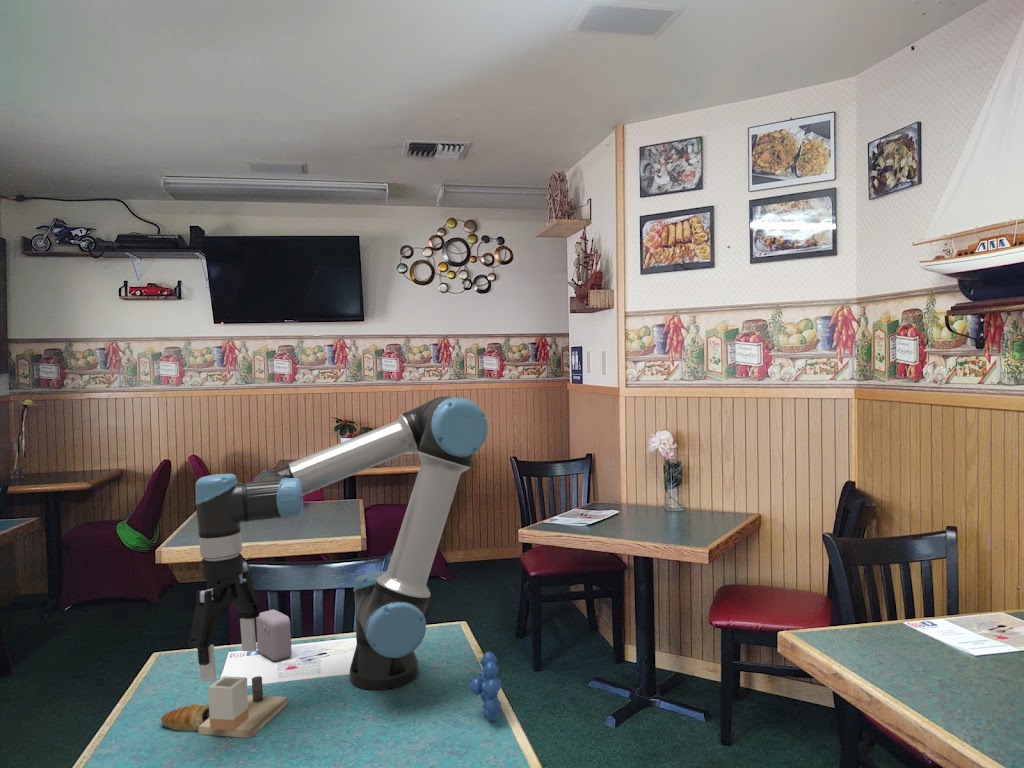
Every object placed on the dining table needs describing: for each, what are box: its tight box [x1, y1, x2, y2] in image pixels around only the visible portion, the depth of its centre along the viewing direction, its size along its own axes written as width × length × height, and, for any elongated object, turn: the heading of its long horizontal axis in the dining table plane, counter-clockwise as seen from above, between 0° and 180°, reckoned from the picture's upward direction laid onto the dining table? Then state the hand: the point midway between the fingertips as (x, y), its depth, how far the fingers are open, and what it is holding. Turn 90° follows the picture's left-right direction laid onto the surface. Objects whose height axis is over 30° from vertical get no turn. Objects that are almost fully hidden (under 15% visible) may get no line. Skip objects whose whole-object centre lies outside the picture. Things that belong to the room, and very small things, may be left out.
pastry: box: [160, 703, 210, 732], centre depth 147 cm, size 9×7×4 cm
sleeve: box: [207, 675, 249, 730], centre depth 143 cm, size 5×5×8 cm
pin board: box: [197, 675, 288, 739], centre depth 148 cm, size 11×14×6 cm
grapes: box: [468, 650, 504, 722], centre depth 146 cm, size 12×7×12 cm, turn 6°
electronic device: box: [255, 608, 292, 662], centre depth 181 cm, size 10×5×10 cm, turn 43°
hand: (230, 664), depth 143 cm, fingers open, 13 cm apart
